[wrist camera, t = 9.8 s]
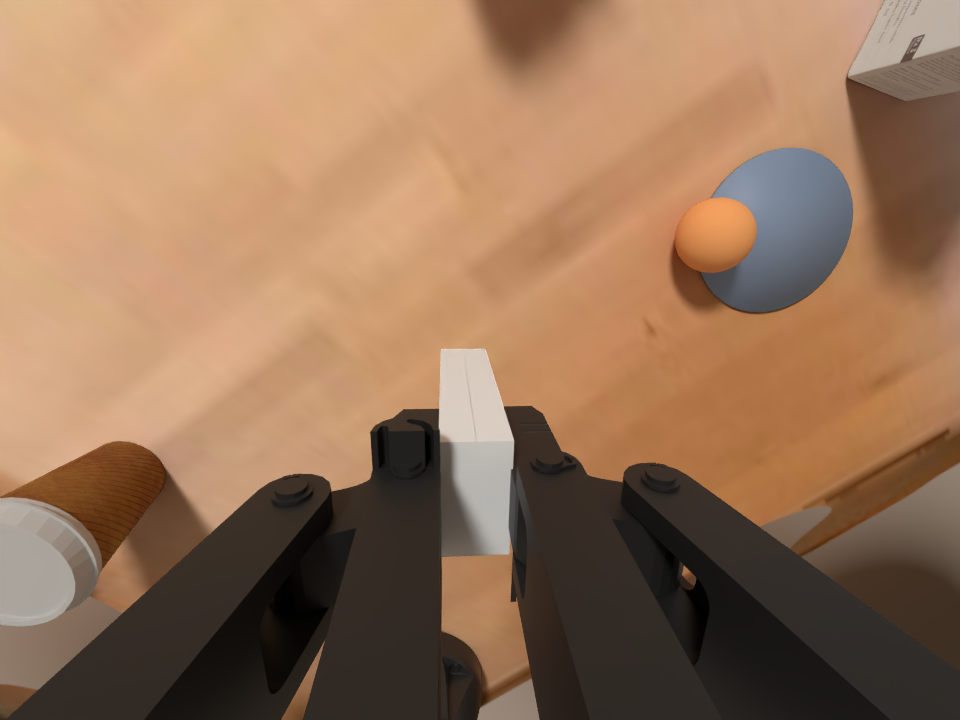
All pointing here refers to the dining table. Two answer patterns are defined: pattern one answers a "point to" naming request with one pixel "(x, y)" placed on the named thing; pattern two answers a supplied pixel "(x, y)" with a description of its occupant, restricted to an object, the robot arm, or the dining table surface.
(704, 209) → the ball
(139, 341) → the dining table surface
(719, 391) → the dining table surface
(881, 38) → the skincare box
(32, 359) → the dining table surface
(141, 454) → the disposable coffee cup
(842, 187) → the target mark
